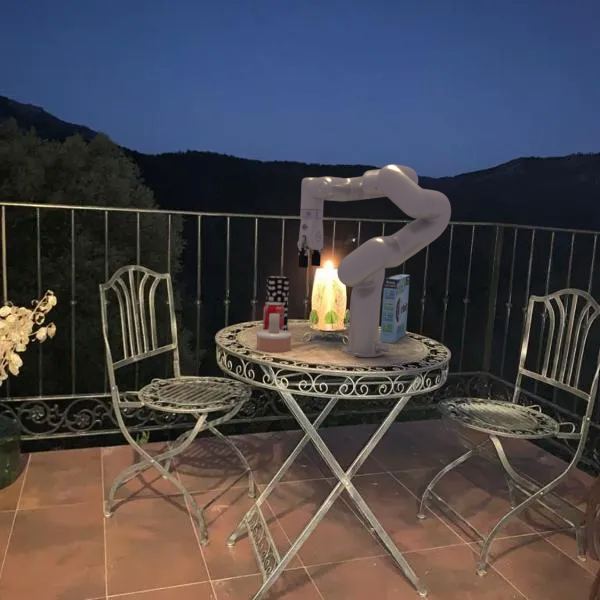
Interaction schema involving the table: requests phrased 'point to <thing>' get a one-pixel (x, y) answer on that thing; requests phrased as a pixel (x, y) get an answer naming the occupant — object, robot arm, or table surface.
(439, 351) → the table surface
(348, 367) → the table surface
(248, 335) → the table surface
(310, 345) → the mat
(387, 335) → the gum box
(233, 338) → the table surface
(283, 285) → the spotted tube
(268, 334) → the lid
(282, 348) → the bowl
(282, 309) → the soda can
